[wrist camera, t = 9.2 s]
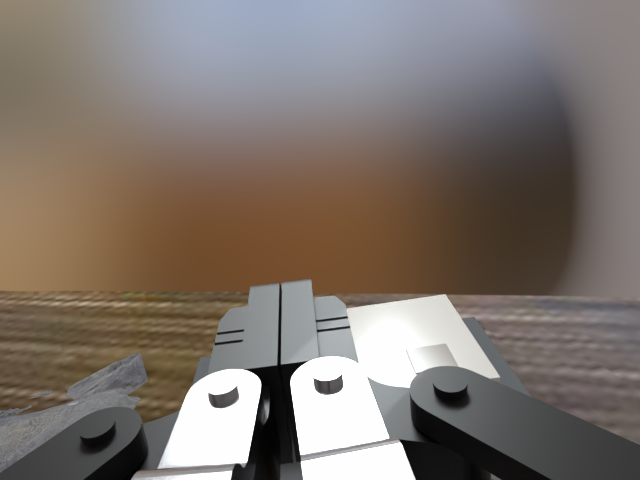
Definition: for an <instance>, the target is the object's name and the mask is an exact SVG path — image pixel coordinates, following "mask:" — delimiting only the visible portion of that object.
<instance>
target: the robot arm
mask: <svg viewBox="0 0 640 480" xmlns="http://www.w3.org/2000/svg"><path fill="white" fill-rule="evenodd" d="M293 444H294V450H295V457H296V462H301V464H302V472H303V479H304V480H494V479H492V478H491V474H493V475H494V476H496V477H498V478H499V479H501V480H640V445H638V444H636V443H634V442H631V441H629V440H627V439H625V438H622V437H620V436H618V435H616V434H613V433H611V432H609V431H607V430H604V429H602V428H600V427H598V426H595V425H593V424H591V423H589V422H586V421H584V420H582V419H580V418H577V417H575V416H573V415H571V414H568V413H566V412H564V411H562V410H559V409H557V408H555V407H553V406H550V405H548V404H546V403H544V402H541V401H539V400H537V399H535V398H532V397H530V396H528V395H526V394H523V393H521V392H519V391H517V390H514V389H512V388H510V387H508V386H505V385H503V384H501V383H499V382H496V381H494V380H492V379H489V378H487V377H485V376H483V375H480V374H478V373H476V372H474V371H471V370H469V369H466V368H462V367H456V366H438V367H433V368H429V369H426V370H424V371H422V372H420V373H419V374H417V375H416V376H415V377H414V378H413V380H412V381H411V384H410V388H408V387H397V386H390V385H385V384H382V383H379V382H376V381H374V380H372V379H371V378H369V377H368V376H366V375H365V372H364V370H363V369H362V367H361V366H360V365H359V362H358V357H357V353H356V349H355V345H354V340H353V336H352V332H351V328H350V323H349V319H348V314H347V310H346V306H345V304H344V303H343V302H342V301H340V300H339V299H338V298H337V297H336V296H326V297H318V298H313V291H312V283H311V279H307V280H298V281H290V282H283V283H282V289H281V285H280V283H275V284H266V285H259V286H251V287H250V293H249V300H248V306H246V307H238V308H231V309H230V310H229V311H228V312H227V313H226V314H225V316H224V317H223V318H222V319H221V320H220V323H219V327H218V331H217V335H216V339H215V346H214V348H213V352H212V356H211V360H210V364H209V369H208V373H207V376H206V377H204V378H202V379H201V380H199V381H198V382H197V383H195V384H194V385H193V386H192V387H191V389H190V390H189V391H188V393H187V395H186V398H185V401H184V403H183V406H182V408H181V410H179V411H177V412H175V413H173V414H171V415H168V416H166V417H163V418H160V419H157V420H154V421H151V422H148V423H145V424H143V423H142V420H141V417H140V415H139V414H138V412H136V411H135V410H133V409H131V408H127V407H110V408H105V409H101V410H98V411H95V412H93V413H90V414H88V415H86V416H84V417H82V418H81V419H79V420H78V421H76V422H75V423H73V424H72V425H70V426H69V427H67V428H66V429H64V430H63V431H61V432H60V433H58V434H57V435H55V436H54V437H52V438H51V439H49V440H48V441H46V442H45V443H43V444H42V445H40V446H39V447H37V448H36V449H34V450H33V451H31V452H30V453H28V454H27V455H25V456H24V457H23V458H21V459H20V460H18V461H17V462H15V463H14V464H12V465H11V466H9V467H8V468H6V469H5V470H3V471H2V472H0V480H280V468H281V464H287V463H293Z"/></svg>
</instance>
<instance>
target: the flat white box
mask: <svg viewBox="0 0 640 480" xmlns="http://www.w3.org/2000/svg"><path fill="white" fill-rule="evenodd" d="M346 310H347V314H348V319H349V323H350V328H351V332H352V336H353V340H354V345H355V349H356V353H357V357H358V362H359V365H360V366H361V367H362V369H363V370H364V372H365V375H366V376H368V377H369V378H371V379H372V380H374V381H376V382H379V383H382V384H385V385H390V386H397V387H408V388H410V384H411V381H412V380H413V378H414V377H415V376H416V375H417V374H419V373H420V372H422V371H424V370H426V369H429V368H433V367H438V366H456V367H462V368H466V369H469V370H471V371H474V372H476V373H478V374H480V375H483V376H485V377H487V378H489V379H492V380H494V381H496V382H499V383H500V376H499V374H498V373H497V371H496V370H495V368H494V367H493V365H492V364H491V362H490V361H489V359H488V358H487V356H486V355H485V353H484V352H483V350H482V349H481V347H480V346H479V344H478V343H477V341H476V340H475V338H474V337H473V335H472V334H471V332H470V331H469V329H468V328H467V326H466V325H465V323H464V322H463V320H462V319H461V317H460V316H459V314H458V313H457V311H456V310H455V308H454V307H453V305H452V304H451V302H450V301H449V299H448V298H447V296H446V295H445V294H444V295H437V296H430V297H424V298H417V299H410V300H403V301H397V302H390V303H383V304H376V305H369V306H363V307H356V308H349V309H346Z"/></svg>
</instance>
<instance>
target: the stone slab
mask: <svg viewBox="0 0 640 480" xmlns="http://www.w3.org/2000/svg"><path fill="white" fill-rule="evenodd" d="M146 381H148V377H147V374H146V371H145V367H144V364H143V361H142V357H141V353H140V352H139V353H136V354H133V355H131V356H129V357H126V358H124V359H122V360H121V361H116V362H114V363H112V364H111V365H109V366H107V367H105V368H103V369H101V370H99V371H98V372H96V373H94V374H92V375H90V376H88V377H87V378H85V379H83V380H81V381H79V382H77V383H75V384H73V385H72V386H71V387H69V388H68V389H66V390H68V391H67V394H66V397H69V398H73V399H77V400H75V401H72V402H69V403H67V404H64V405H60V406H56V407H52V408H49V409H46V410H43V411H40V412H34V413H30V414H25V415H14V414H16V413H18V412H21V411H24V410H26V409H29V408H31V406H29V407H27V408H24V409H18V408H17V409H14V410H11V409H9V410H7V411H6V410H4V411H0V472H2V471H3V470H5V469H6V468H8V467H9V466H11V465H12V464H14V463H15V462H17V461H18V460H20V459H21V458H23V457H24V456H25V455H27V454H28V453H30V452H31V451H33V450H34V449H36V448H37V447H39V446H40V445H42V444H43V443H45V442H46V441H48V440H49V439H51V438H52V437H54V436H55V435H57V434H58V433H60V432H61V431H63V430H64V429H66V428H67V427H69V426H70V425H72V424H73V423H75V422H76V421H78V420H79V419H81V418H82V417H84V416H86V415H88V414H90V413H93V412H95V411H98V410H101V409H105V408H110V407H127V408H131V409H133V410H134V408H135V406H136V404H137V403H138V402H139V401H140V398H138V397H137V396H136V397H129V396H128V394H130V393H131V392H133V391H134V390H136V389H138V388H139V387H141V386H142V385H143V384H144V383H145V382H146ZM52 392H53V391H46V392H43V393H41V394H39V395H36V396H34V397H40V396H44V395H49V394H50V393H52ZM34 397H32V398H34ZM30 399H31V398H30Z"/></svg>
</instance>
